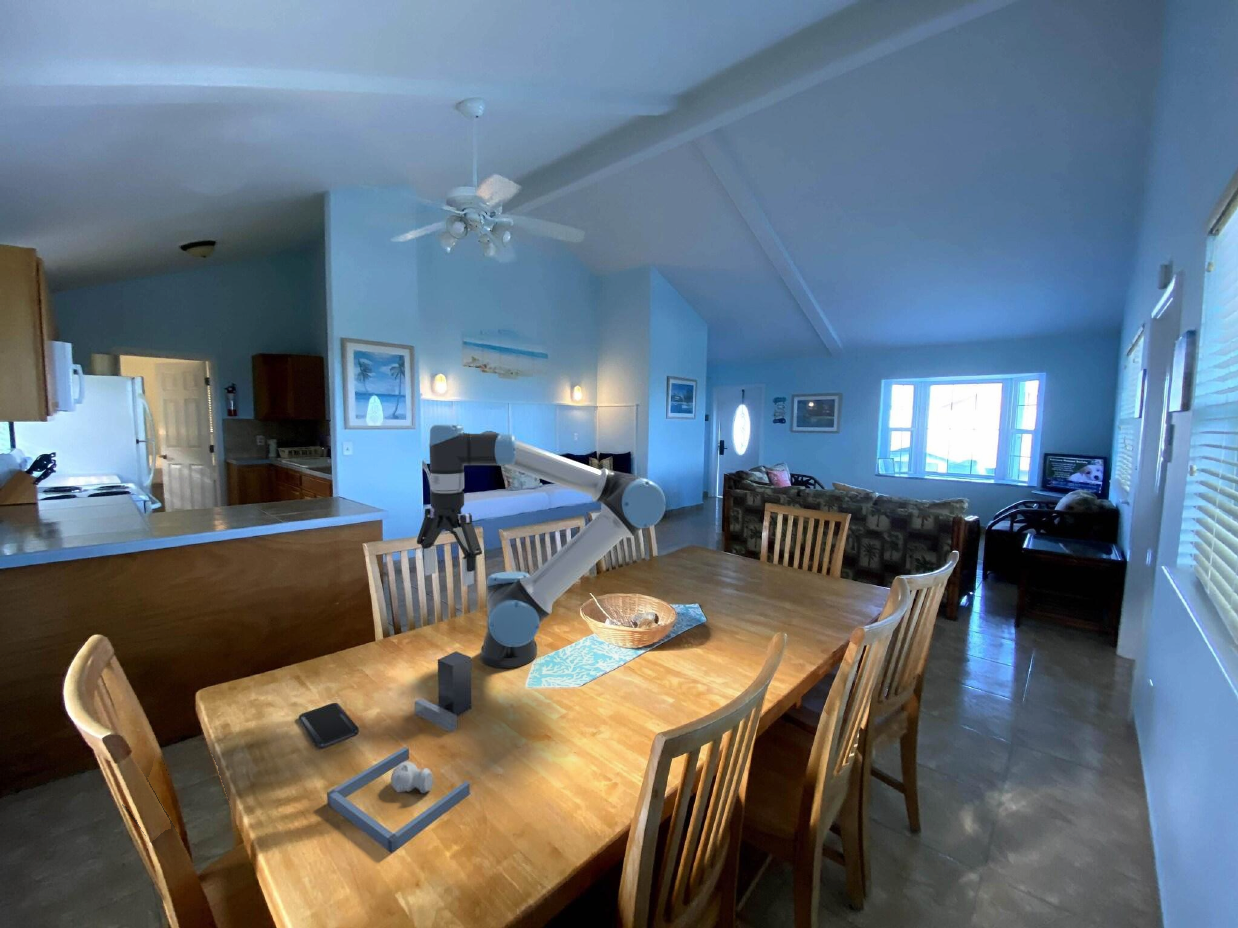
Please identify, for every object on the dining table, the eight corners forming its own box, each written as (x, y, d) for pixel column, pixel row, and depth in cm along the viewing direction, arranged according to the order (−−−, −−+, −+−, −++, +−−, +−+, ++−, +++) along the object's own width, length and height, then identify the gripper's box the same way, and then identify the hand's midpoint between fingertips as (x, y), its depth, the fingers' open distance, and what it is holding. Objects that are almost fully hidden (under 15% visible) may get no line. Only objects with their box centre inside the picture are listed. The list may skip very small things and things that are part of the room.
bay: (405, 756, 101) (405, 746, 101) (469, 793, 91) (469, 782, 91) (327, 803, 88) (327, 792, 88) (391, 853, 79) (391, 840, 79)
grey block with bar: (446, 696, 122) (446, 647, 121) (482, 713, 116) (481, 661, 115) (415, 713, 115) (413, 661, 114) (451, 732, 109) (450, 676, 108)
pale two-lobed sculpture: (387, 793, 93) (409, 769, 97) (418, 809, 89) (440, 783, 93) (379, 776, 91) (402, 752, 95) (411, 791, 88) (434, 765, 92)
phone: (318, 746, 102) (297, 714, 113) (318, 752, 102) (297, 719, 113) (360, 730, 108) (337, 701, 118) (361, 735, 108) (337, 705, 118)
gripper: (400, 487, 126) (402, 573, 128) (471, 497, 113) (472, 593, 115) (426, 484, 132) (428, 566, 134) (497, 493, 119) (497, 584, 121)
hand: (448, 579), depth 124 cm, fingers open, 13 cm apart
